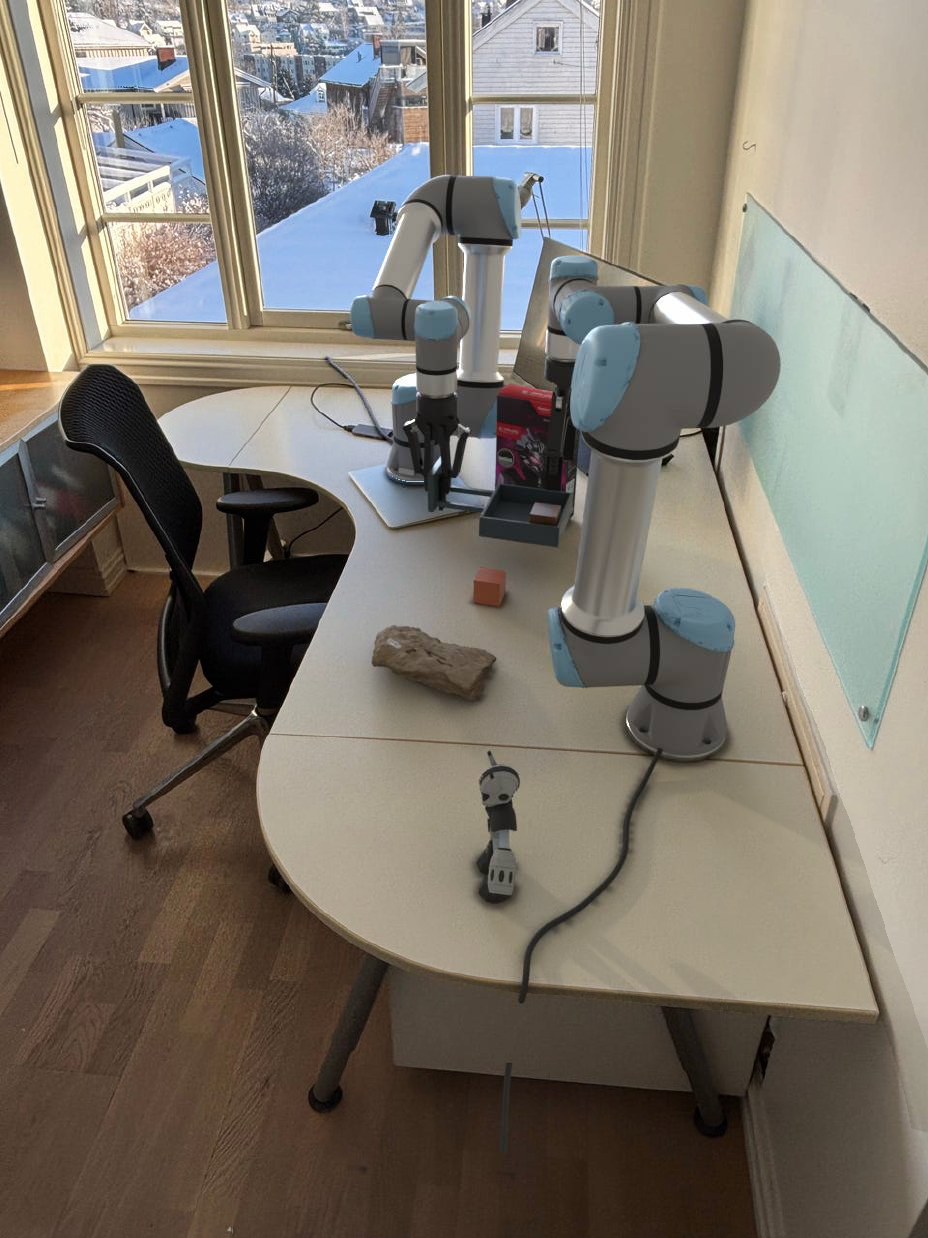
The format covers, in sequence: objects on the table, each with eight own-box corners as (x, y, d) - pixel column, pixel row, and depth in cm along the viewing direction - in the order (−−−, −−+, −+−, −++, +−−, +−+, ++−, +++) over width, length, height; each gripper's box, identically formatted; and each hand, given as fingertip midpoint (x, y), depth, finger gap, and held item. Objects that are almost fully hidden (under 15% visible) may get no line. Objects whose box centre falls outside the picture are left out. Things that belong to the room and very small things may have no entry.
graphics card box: (491, 511, 204) (494, 391, 189) (505, 498, 209) (509, 381, 194) (563, 528, 197) (572, 406, 182) (575, 515, 202) (585, 395, 187)
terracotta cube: (499, 606, 172) (499, 584, 169) (473, 602, 173) (473, 580, 170) (505, 593, 176) (506, 570, 173) (479, 589, 177) (480, 566, 174)
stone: (347, 674, 149) (354, 641, 146) (379, 641, 162) (386, 611, 160) (469, 718, 145) (478, 685, 143) (492, 681, 159) (500, 650, 156)
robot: (522, 941, 111) (530, 823, 99) (481, 942, 110) (485, 824, 99) (507, 820, 127) (513, 708, 116) (472, 821, 127) (474, 708, 115)
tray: (572, 511, 183) (576, 464, 177) (558, 547, 171) (561, 499, 165) (445, 494, 189) (445, 448, 183) (423, 528, 177) (422, 480, 171)
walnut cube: (528, 537, 173) (529, 513, 170) (533, 525, 177) (535, 502, 174) (554, 541, 172) (556, 517, 169) (559, 529, 176) (561, 505, 173)
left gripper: (479, 388, 170) (477, 503, 183) (406, 380, 173) (409, 494, 186) (469, 402, 164) (467, 520, 177) (393, 394, 167) (397, 510, 180)
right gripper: (578, 381, 142) (569, 506, 154) (600, 336, 162) (591, 449, 174) (530, 377, 144) (525, 501, 155) (558, 333, 164) (551, 445, 175)
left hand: (437, 506), depth 182 cm, fingers closed on tray
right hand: (559, 474), depth 164 cm, fingers open, 13 cm apart
